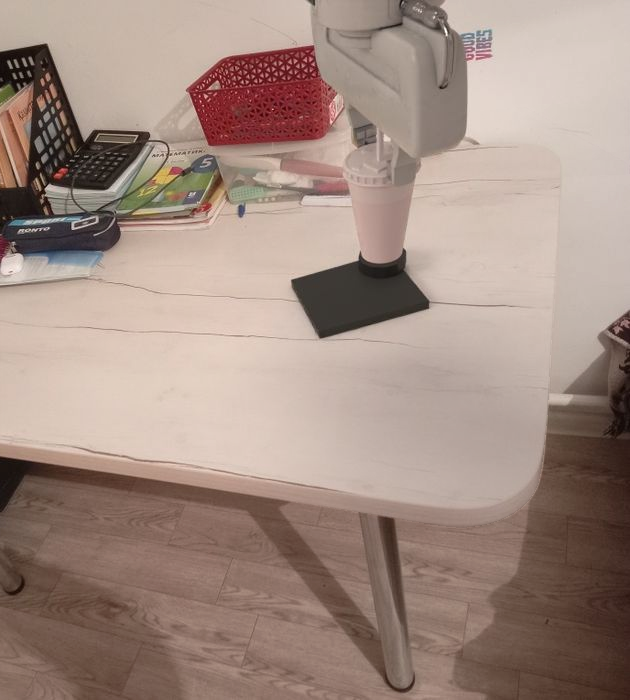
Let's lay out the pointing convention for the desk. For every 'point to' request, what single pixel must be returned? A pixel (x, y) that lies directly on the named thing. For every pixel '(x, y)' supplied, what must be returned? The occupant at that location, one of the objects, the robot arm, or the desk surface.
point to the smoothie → (377, 201)
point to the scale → (358, 295)
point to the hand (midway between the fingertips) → (381, 162)
